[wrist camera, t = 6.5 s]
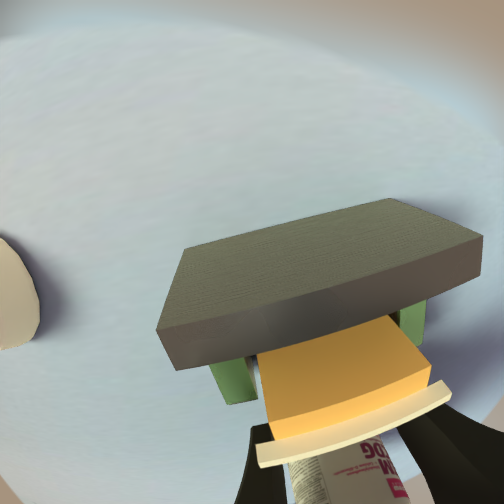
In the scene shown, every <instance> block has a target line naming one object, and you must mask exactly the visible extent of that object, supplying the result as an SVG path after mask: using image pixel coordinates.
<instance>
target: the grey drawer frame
mask: <svg viewBox="0 0 504 504" xmlns="http://www.w3.org/2000/svg"><path fill="white" fill-rule="evenodd" d="M482 248H483V235H481V234H479V233H477V232H474V231H472V230H470V229H468V228H465V227H463V226H461V225H458V224H456V223H453V222H451V221H449V220H446V219H444V218H441V217H439V216H436V215H434V214H431V213H429V212H426V211H423V210H421V209H418V208H415V207H413V206H410V205H407V204H405V203H402V202H399V201H396V200H393V199H391V198H388V199H383V200H379V201H375V202H370V203H366V204H362V205H358V206H353V207H349V208H345V209H341V210H337V211H332V212H328V213H324V214H320V215H316V216H312V217H308V218H304V219H300V220H296V221H292V222H288V223H284V224H280V225H276V226H272V227H268V228H264V229H260V230H256V231H252V232H248V233H244V234H240V235H237V236H233V237H229V238H225V239H221V240H217V241H214V242H210V243H206V244H202V245H198V246H195V247H191V248H187V249H184V252H183V255H182V257H181V260H180V263H179V265H178V268H177V271H176V273H175V276H174V279H173V282H172V284H171V287H170V290H169V293H168V296H167V299H166V301H165V304H164V307H163V310H162V313H161V316H160V319H159V322H158V325H157V328H156V332H157V334H158V336H159V338H160V340H161V342H162V344H163V346H164V348H165V350H166V352H167V354H168V356H169V358H170V360H171V362H172V364H173V366H174V368H175V370H176V371H178V370H184V369H189V368H195V367H200V366H205V365H209V367H210V369H211V371H212V373H213V376H214V378H215V380H216V382H217V384H218V387H219V389H220V391H221V393H222V395H223V397H224V399H225V402H226V404H227V405H228V404H229V405H232V404H237V403H242V402H247V401H252V400H256V399H258V395H257V388H256V382H255V375H254V368H253V362H252V359H251V355H256V354H260V353H264V352H268V351H272V350H276V349H279V348H283V347H287V346H291V345H294V344H298V343H302V342H305V341H309V340H312V339H315V338H319V337H322V336H325V335H329V334H332V333H335V332H338V331H341V330H344V329H348V328H351V327H354V326H357V325H360V324H363V323H365V322H368V321H371V320H374V319H377V318H380V317H382V316H385V315H388V316H389V317H390V318H391V319H392V320H393V321H394V322H395V324H396V325H397V326H398V327H399V328H400V329H401V330H402V331H403V333H404V334H405V335H406V336H407V337H408V338H409V339H410V341H411V342H412V343H413V344H414V345H415V346H416V347H418V346H419V345H421V344H422V341H423V332H424V323H425V311H426V299H429V298H431V297H434V296H436V295H438V294H441V293H443V292H445V291H448V290H450V289H452V288H454V287H457V286H459V285H461V284H463V283H465V282H467V281H470V280H472V279H474V278H476V277H478V276H480V272H481V261H482Z"/></svg>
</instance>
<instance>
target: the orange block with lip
mask: <svg viewBox="0 0 504 504" xmlns="http://www.w3.org/2000/svg"><path fill="white" fill-rule="evenodd" d="M257 359H258V365H259V371H260V377H261V383H262V388H263V394H264V400H265V405H266V411H267V417H268V422H269V425H270V428H271V430H272V433H273V436H274V438H275V441H271V442H266V443H261V444H256V452H257V460H258V464H259V466H260V468H265V467H270V466H275V465H280V464H284V463H289V462H293V461H297V460H301V459H305V458H309V457H312V456H316V455H320V454H323V453H326V452H330V451H333V450H336V449H339V448H342V447H345V446H348V445H351V444H354V443H357V442H360V441H362V440H365V439H368V438H370V437H373V436H375V435H378V434H380V433H383V432H385V431H388V430H390V429H392V428H395V427H397V426H399V425H401V424H403V423H406V422H408V421H410V420H412V419H414V418H416V417H418V416H420V415H422V414H424V413H426V412H428V411H430V410H432V409H434V408H436V407H438V406H440V405H441V404H443V403H445V402H447V401H449V400H450V398H451V395H452V392H451V391H450V390H449V388H448V387H447V386H446V385H445V383H444V382H443V381H442V380H439V381H438V382H436V383H434V384H432V385H430V386H428V387H427V385H428V380H429V376H430V371H431V366H432V365H431V364H430V363H429V362H428V360H427V359H426V358H425V357H424V356H423V354H422V353H421V352H420V351H419V350H418V349H417V347H416V346H415V345H414V344H413V343H412V342H411V341H410V339H409V338H408V337H407V336H406V335H405V334H404V333H403V331H402V330H401V329H400V328H399V327H398V326H397V325H396V324H395V322H394V321H393V320H392V319H391V318H390V317H389V316H388V315H385V316H382V317H380V318H377V319H374V320H371V321H368V322H365V323H363V324H360V325H357V326H354V327H351V328H348V329H344V330H341V331H338V332H335V333H332V334H329V335H325V336H322V337H319V338H315V339H312V340H309V341H305V342H302V343H298V344H294V345H291V346H287V347H283V348H279V349H276V350H272V351H268V352H264V353H260V354H257Z"/></svg>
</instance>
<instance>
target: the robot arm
mask: <svg viewBox="0 0 504 504" xmlns="http://www.w3.org/2000/svg"><path fill="white" fill-rule="evenodd" d="M396 428H397V430H398V432H399V434H400V436H401V437H402V439H403V441H404V442H405V444H406V446H407V448H408V449H409V451H410V453H411V454H412V456H413V458H414V459H415V461H416V463H417V464H418V466H419V468H420V469H421V471H422V473H423V475H424V477H425V479H426V482H427V484H428V487H429V489H430V492H431V494H432V497H433V499H434V502H435V504H504V432H500V431H497V430H495V429H492V428H490V427H487V426H485V425H482V424H480V423H478V422H476V421H474V420H472V419H470V418H468V417H466V416H465V415H463V414H461V413H459V412H458V411H456V410H454V409H453V408H451V407H450V406H448V405H447V404H445V403H443V404H441V405H440V406H438V407H436V408H434V409H432V410H430V411H428V412H426V413H424V414H422V415H420V416H418V417H416V418H414V419H412V420H410V421H408V422H406V423H403V424H401V425H399V426H397V427H396ZM271 441H275V438H274V436H273V433H272V430H271V428H270V425H269V423H266V424H261V425H256V426H253V427H252V428H251V432H250V444H249V451H248V456H247V461H246V466H245V470H244V474H243V478H242V482H241V485H240V488H239V491H238V494H237V497H236V500H235V503H234V504H287V496H286V487H285V477H284V469H283V465H282V464H280V465H275V466H270V467H265V468H260V466H259V464H258V460H257V452H256V444H261V443H266V442H271Z"/></svg>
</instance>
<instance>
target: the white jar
mask: <svg viewBox="0 0 504 504" xmlns="http://www.w3.org/2000/svg"><path fill="white" fill-rule="evenodd" d="M39 323H40V314H39V300H38V297H37V294H36V290H35V287H34V284H33V281H32V278H31V276H30V274H29V273H28V271H27V269H26V267H25V266H24V264H23V262H22V260H21V259H20V257H19V255H18V254H17V253H16V252H15V251H14V250H13V249H12V248H11V247H10V246H9V245H8V244H7V243H6V242H5V241H4V240H3V239H1V238H0V350H5V349H9V348H13V347H17V346H20V345H22V344H24V343H26V342H28V341H29V340H31V339H32V337H33V336H34V334H35V332H36V329H37V327H38V325H39Z"/></svg>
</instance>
